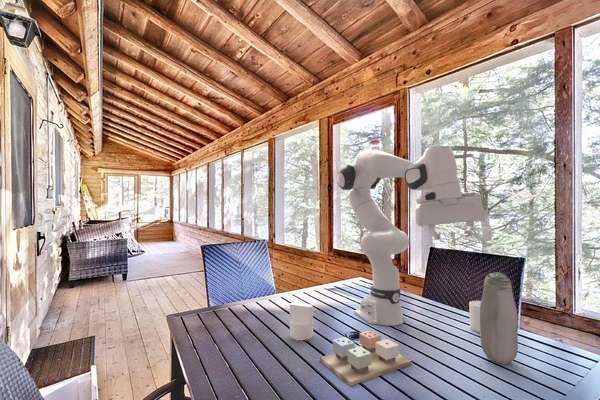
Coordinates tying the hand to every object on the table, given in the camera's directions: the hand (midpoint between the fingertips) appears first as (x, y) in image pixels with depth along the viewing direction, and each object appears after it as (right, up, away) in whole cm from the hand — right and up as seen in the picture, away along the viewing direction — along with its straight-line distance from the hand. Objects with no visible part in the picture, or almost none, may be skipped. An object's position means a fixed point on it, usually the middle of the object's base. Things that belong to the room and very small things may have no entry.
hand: (453, 238), depth 97 cm
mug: (+24, -40, +25) cm, 53 cm away
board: (-27, -40, +2) cm, 48 cm away
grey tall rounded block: (+16, -40, +2) cm, 43 cm away
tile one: (-20, -37, +1) cm, 42 cm away
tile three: (-34, -37, +3) cm, 50 cm away
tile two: (-30, -37, -4) cm, 48 cm away
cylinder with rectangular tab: (-47, -41, +23) cm, 67 cm away
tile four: (-24, -37, +8) cm, 45 cm away
